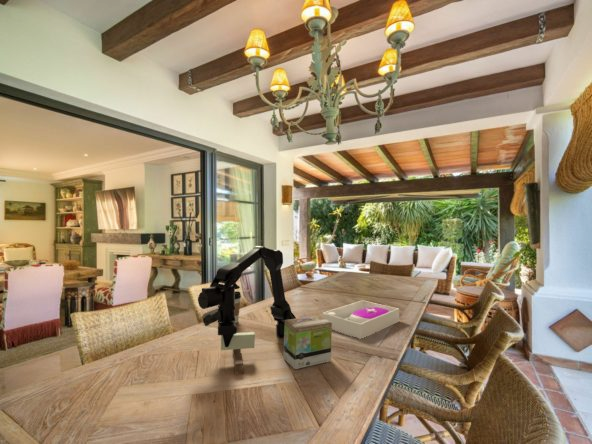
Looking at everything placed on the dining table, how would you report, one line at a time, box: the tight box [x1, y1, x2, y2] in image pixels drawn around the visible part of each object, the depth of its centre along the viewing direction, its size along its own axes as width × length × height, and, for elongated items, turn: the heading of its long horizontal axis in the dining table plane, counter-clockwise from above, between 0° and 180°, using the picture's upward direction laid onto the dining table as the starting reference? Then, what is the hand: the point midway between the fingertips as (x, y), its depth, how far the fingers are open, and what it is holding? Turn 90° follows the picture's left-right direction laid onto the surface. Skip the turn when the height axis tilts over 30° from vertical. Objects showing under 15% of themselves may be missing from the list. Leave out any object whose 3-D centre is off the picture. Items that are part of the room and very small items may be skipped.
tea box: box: [283, 314, 333, 371], centre depth 109 cm, size 15×10×15 cm, turn 117°
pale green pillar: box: [220, 331, 256, 351], centre depth 109 cm, size 12×2×5 cm, turn 104°
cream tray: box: [321, 299, 400, 340], centre depth 149 cm, size 22×35×7 cm, turn 134°
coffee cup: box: [232, 291, 242, 324], centre depth 152 cm, size 8×8×15 cm
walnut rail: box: [232, 349, 244, 375], centre depth 109 cm, size 2×20×4 cm, turn 14°
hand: (226, 345), depth 108 cm, fingers closed on pale green pillar, 2 cm apart
